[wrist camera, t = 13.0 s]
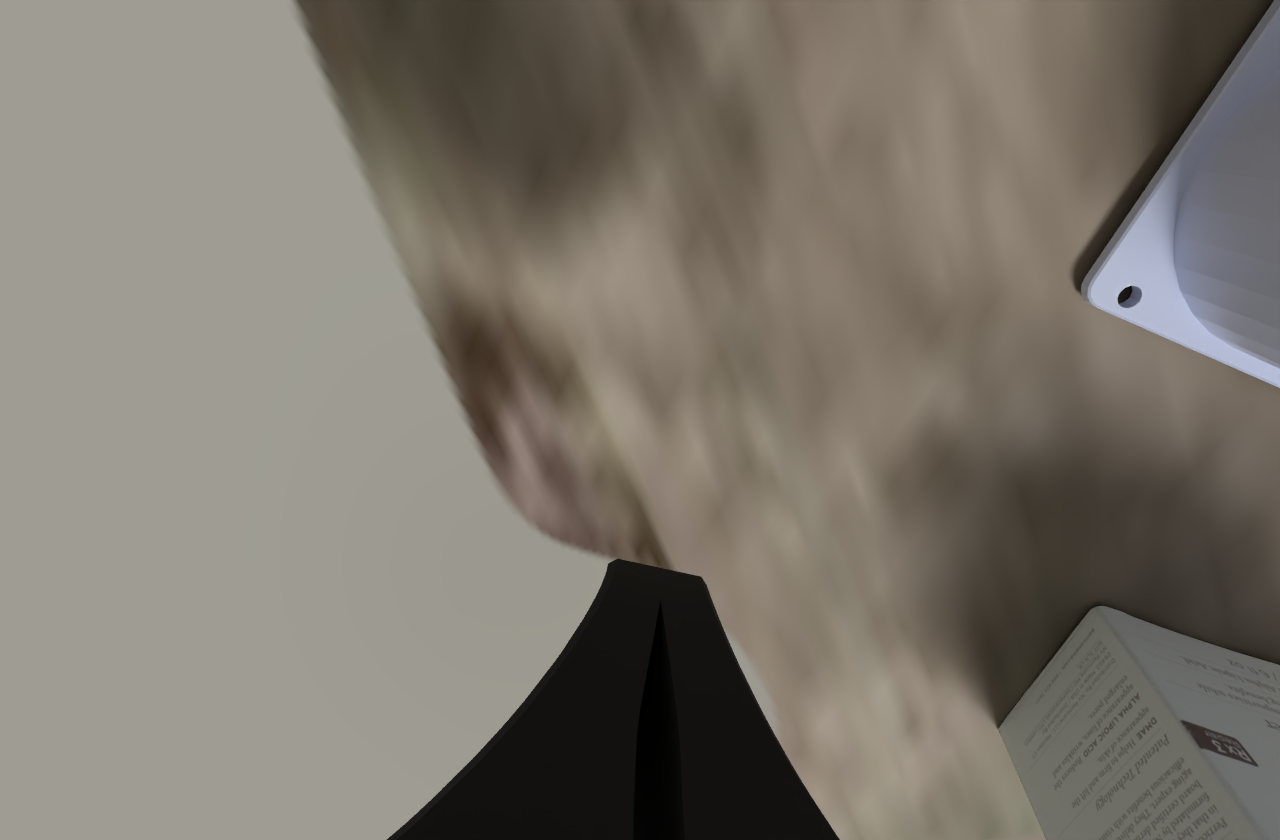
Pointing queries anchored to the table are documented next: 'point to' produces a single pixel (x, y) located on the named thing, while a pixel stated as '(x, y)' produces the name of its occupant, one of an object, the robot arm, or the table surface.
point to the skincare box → (1149, 737)
